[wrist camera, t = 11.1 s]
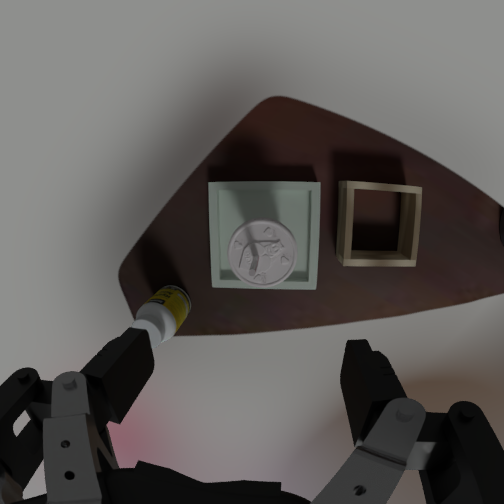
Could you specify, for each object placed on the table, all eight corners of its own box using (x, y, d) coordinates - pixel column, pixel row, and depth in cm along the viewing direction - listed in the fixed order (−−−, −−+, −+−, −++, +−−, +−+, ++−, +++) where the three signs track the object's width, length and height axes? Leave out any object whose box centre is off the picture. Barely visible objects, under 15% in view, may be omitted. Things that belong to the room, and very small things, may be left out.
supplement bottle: (181, 279, 38) (153, 308, 29) (197, 312, 39) (175, 349, 30) (150, 290, 39) (118, 320, 30) (167, 322, 40) (140, 357, 31)
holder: (406, 186, 32) (422, 187, 28) (401, 256, 35) (415, 266, 30) (338, 180, 33) (347, 180, 29) (335, 255, 35) (343, 265, 31)
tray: (317, 182, 33) (320, 182, 31) (313, 282, 37) (316, 289, 34) (213, 182, 35) (208, 182, 32) (216, 280, 38) (212, 287, 35)
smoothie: (230, 225, 34) (200, 253, 21) (276, 198, 33) (274, 210, 20) (257, 269, 36) (244, 321, 22) (302, 244, 34) (317, 285, 21)
